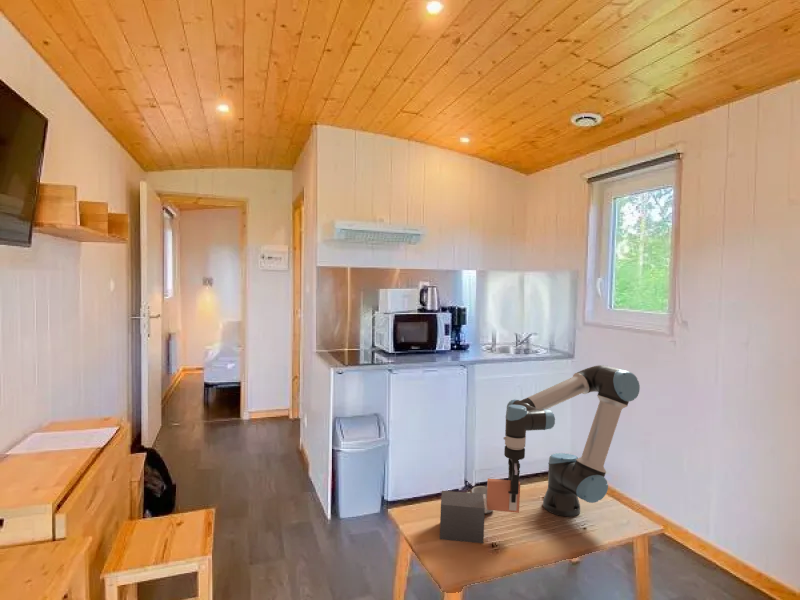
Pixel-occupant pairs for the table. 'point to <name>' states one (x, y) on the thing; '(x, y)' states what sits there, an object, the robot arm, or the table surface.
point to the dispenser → (462, 516)
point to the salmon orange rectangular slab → (500, 495)
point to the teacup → (481, 491)
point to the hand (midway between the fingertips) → (512, 507)
